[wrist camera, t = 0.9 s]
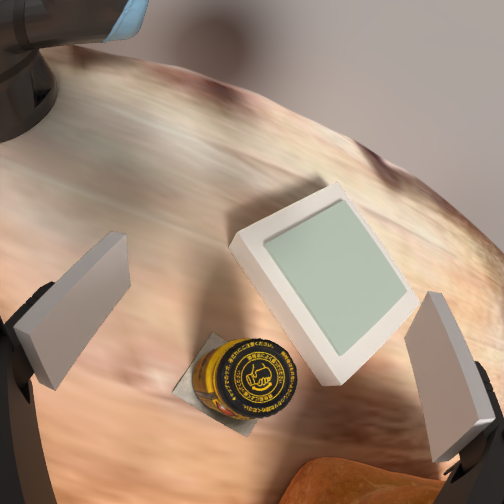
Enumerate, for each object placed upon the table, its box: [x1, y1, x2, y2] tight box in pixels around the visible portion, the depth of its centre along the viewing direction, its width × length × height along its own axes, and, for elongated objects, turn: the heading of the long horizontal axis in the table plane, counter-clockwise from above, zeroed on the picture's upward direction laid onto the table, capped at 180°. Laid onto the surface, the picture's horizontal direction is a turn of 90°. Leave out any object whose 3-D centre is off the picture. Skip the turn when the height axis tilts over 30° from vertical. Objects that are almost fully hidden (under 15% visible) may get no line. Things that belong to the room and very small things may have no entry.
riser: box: [228, 182, 421, 386], centre depth 34 cm, size 18×15×5 cm
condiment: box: [173, 332, 297, 437], centre depth 24 cm, size 7×8×12 cm
